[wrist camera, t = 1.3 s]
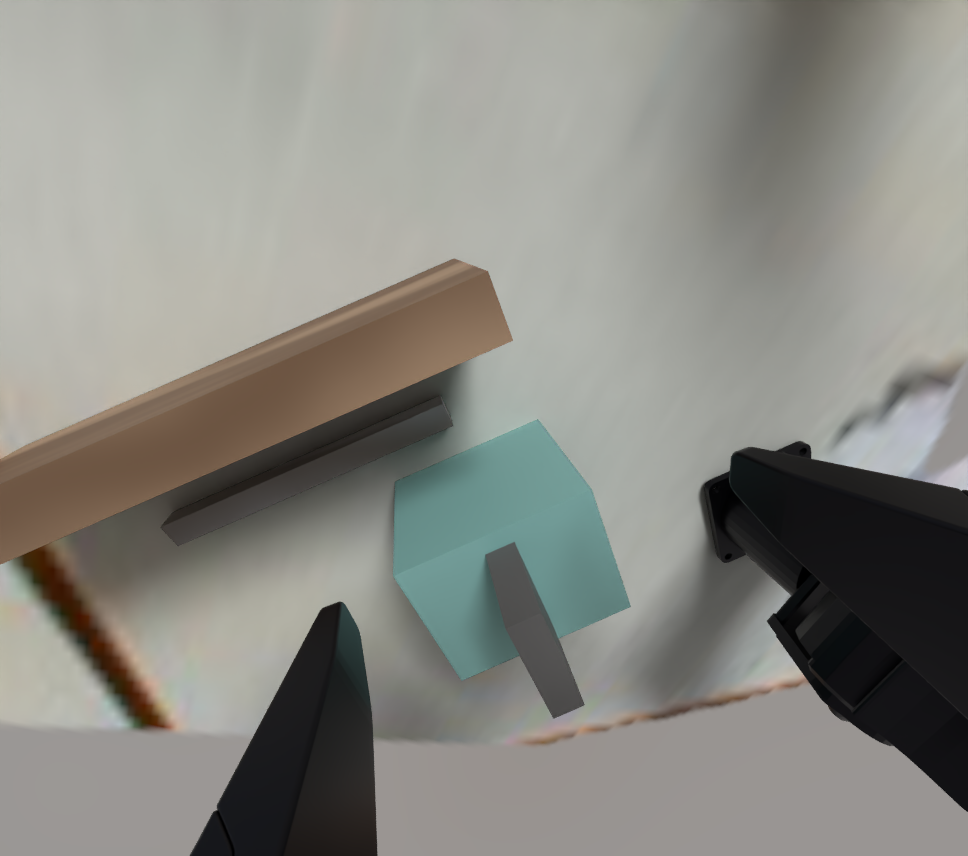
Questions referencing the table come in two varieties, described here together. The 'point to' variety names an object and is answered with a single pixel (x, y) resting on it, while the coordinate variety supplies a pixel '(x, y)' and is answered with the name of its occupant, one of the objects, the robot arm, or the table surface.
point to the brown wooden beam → (256, 414)
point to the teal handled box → (506, 558)
